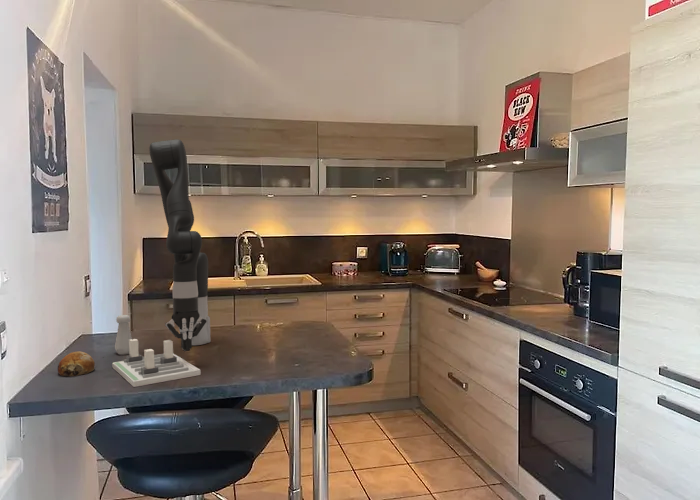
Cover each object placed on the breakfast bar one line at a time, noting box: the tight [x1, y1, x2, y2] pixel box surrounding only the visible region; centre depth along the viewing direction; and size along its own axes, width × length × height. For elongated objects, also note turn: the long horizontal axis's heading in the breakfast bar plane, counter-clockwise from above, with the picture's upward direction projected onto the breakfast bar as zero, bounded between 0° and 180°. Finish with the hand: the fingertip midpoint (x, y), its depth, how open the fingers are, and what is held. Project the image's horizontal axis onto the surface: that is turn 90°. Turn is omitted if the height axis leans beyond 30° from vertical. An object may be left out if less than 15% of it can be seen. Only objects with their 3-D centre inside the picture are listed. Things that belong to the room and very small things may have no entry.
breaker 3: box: [160, 339, 177, 364], centre depth 171 cm, size 4×3×7 cm
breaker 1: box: [125, 338, 143, 363], centre depth 173 cm, size 4×3×7 cm
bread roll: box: [57, 350, 96, 377], centre depth 169 cm, size 10×10×8 cm
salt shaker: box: [114, 314, 133, 356], centre depth 190 cm, size 6×6×13 cm
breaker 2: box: [141, 348, 158, 376], centre depth 160 cm, size 4×3×7 cm
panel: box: [112, 352, 202, 388], centre depth 169 cm, size 19×24×2 cm
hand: (186, 350), depth 174 cm, fingers closed
